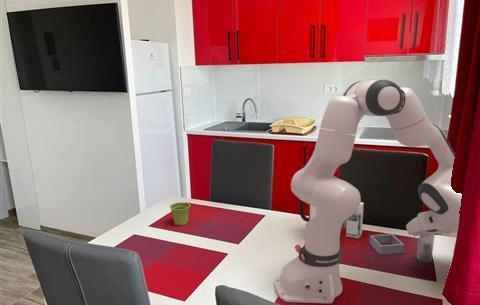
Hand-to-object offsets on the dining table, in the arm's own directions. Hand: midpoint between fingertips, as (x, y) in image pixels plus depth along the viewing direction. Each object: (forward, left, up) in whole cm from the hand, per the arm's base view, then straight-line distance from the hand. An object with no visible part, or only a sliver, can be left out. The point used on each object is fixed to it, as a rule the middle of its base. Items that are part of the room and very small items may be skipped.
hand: (426, 233), depth 141 cm
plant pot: (-93, +47, -10) cm, 105 cm away
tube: (0, 0, -10) cm, 10 cm away
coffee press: (-33, +23, -10) cm, 41 cm away
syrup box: (-18, +23, -10) cm, 31 cm away
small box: (-20, +32, -10) cm, 39 cm away
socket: (-10, +10, -10) cm, 17 cm away
